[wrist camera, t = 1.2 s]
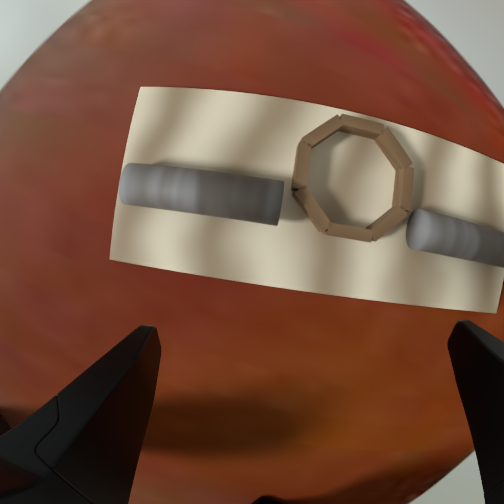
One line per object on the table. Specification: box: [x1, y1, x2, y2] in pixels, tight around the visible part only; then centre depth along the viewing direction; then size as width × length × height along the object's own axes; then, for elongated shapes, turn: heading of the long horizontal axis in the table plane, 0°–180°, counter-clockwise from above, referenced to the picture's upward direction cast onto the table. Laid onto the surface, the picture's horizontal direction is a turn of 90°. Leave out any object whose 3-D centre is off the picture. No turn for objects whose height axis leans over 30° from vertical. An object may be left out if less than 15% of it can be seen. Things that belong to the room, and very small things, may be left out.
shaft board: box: [110, 87, 504, 313], centre depth 20 cm, size 32×13×4 cm, turn 81°
